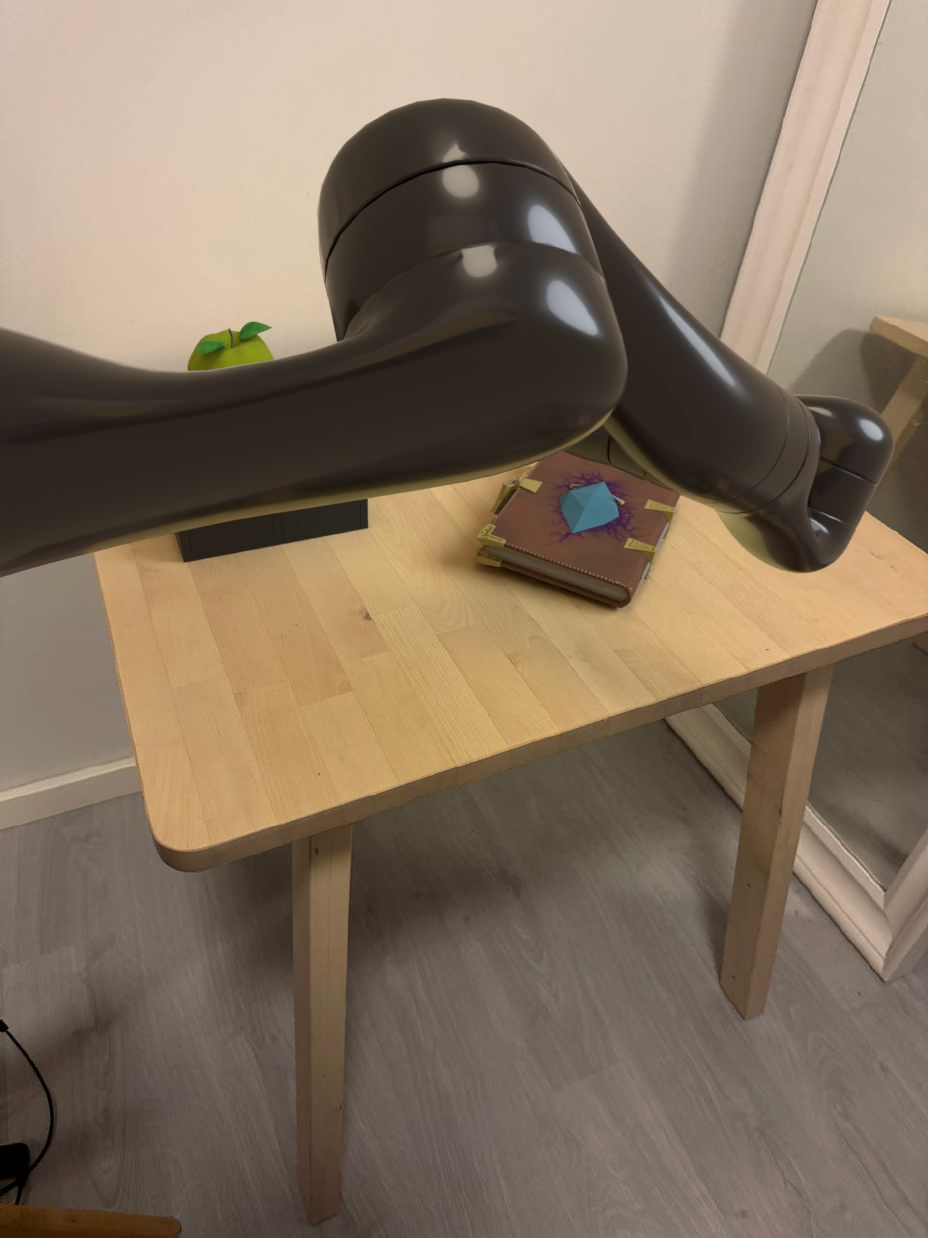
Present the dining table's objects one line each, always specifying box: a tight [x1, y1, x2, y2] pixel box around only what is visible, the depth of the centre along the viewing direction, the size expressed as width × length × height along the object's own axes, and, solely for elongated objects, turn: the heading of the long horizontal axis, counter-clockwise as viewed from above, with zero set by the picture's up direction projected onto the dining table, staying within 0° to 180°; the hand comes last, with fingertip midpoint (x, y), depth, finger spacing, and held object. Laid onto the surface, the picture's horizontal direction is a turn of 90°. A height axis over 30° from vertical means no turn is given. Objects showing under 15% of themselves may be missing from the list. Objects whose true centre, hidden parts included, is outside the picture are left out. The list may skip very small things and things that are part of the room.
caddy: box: [174, 498, 369, 563], centre depth 85 cm, size 17×9×4 cm, turn 113°
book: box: [472, 451, 681, 609], centre depth 88 cm, size 16×25×5 cm, turn 157°
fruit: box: [187, 321, 275, 371], centre depth 98 cm, size 9×9×10 cm
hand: (392, 325), depth 68 cm, fingers open, 8 cm apart
